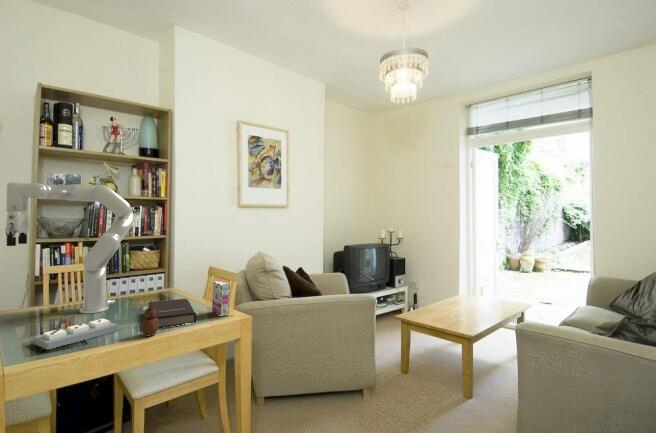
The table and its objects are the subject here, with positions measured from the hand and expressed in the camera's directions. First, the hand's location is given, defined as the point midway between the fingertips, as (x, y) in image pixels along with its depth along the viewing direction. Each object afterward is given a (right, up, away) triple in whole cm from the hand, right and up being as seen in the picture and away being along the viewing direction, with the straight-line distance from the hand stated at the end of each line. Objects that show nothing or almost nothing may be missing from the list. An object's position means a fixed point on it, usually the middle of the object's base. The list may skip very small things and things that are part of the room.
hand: (17, 244), depth 158 cm
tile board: (+44, -37, -20) cm, 61 cm away
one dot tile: (+48, -35, -13) cm, 61 cm away
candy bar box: (+91, -38, +17) cm, 100 cm away
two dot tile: (+44, -35, -20) cm, 60 cm away
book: (+69, -38, +8) cm, 79 cm away
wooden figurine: (+71, -38, -15) cm, 82 cm away
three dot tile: (+40, -35, -27) cm, 59 cm away
